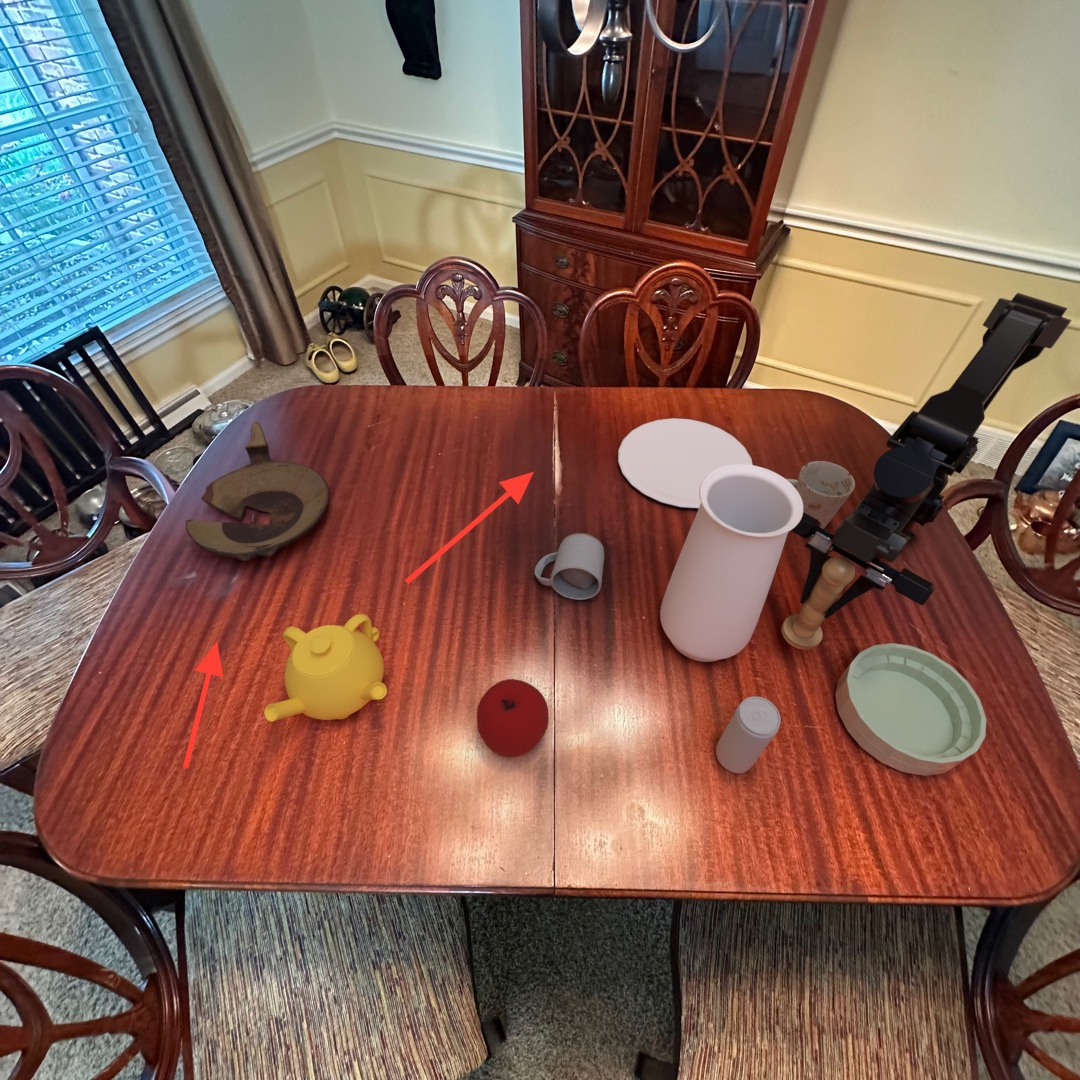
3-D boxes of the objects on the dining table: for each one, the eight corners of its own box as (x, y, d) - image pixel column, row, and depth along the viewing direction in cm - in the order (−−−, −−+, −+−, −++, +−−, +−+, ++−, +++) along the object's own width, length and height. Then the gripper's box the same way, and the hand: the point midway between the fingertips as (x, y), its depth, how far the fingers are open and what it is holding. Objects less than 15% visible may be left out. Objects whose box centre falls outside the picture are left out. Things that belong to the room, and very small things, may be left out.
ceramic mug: (604, 562, 97) (607, 530, 91) (599, 603, 92) (602, 572, 86) (539, 555, 98) (538, 523, 93) (531, 595, 93) (529, 563, 87)
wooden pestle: (802, 612, 86) (844, 540, 74) (828, 641, 82) (877, 570, 70) (773, 626, 84) (811, 554, 72) (798, 655, 81) (843, 585, 69)
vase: (693, 687, 83) (745, 558, 62) (639, 618, 90) (669, 481, 69) (764, 647, 87) (837, 514, 66) (707, 584, 94) (755, 446, 73)
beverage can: (710, 739, 78) (732, 696, 69) (746, 736, 78) (773, 693, 69) (720, 776, 75) (745, 737, 66) (758, 773, 75) (788, 733, 66)
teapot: (285, 748, 77) (254, 710, 69) (289, 657, 86) (262, 613, 77) (398, 724, 79) (382, 684, 71) (391, 638, 88) (376, 593, 80)
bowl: (894, 645, 87) (910, 626, 83) (992, 744, 77) (1016, 727, 74) (807, 689, 82) (820, 671, 79) (900, 800, 73) (920, 785, 69)
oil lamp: (172, 575, 96) (148, 543, 90) (246, 451, 115) (231, 419, 110) (309, 583, 95) (294, 552, 89) (360, 457, 114) (351, 425, 108)
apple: (542, 772, 75) (542, 740, 68) (471, 760, 76) (464, 727, 69) (553, 704, 81) (554, 667, 74) (487, 694, 82) (482, 657, 75)
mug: (834, 542, 100) (858, 499, 92) (757, 531, 102) (774, 488, 94) (829, 507, 105) (851, 464, 98) (755, 497, 107) (772, 454, 99)
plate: (733, 421, 121) (735, 416, 120) (768, 510, 105) (771, 505, 104) (610, 423, 121) (610, 418, 120) (626, 513, 104) (627, 508, 103)
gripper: (810, 458, 71) (736, 568, 75) (974, 541, 63) (883, 661, 66) (819, 474, 81) (754, 571, 84) (963, 548, 72) (884, 653, 76)
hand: (813, 610), depth 77 cm, fingers closed on wooden pestle, 3 cm apart
